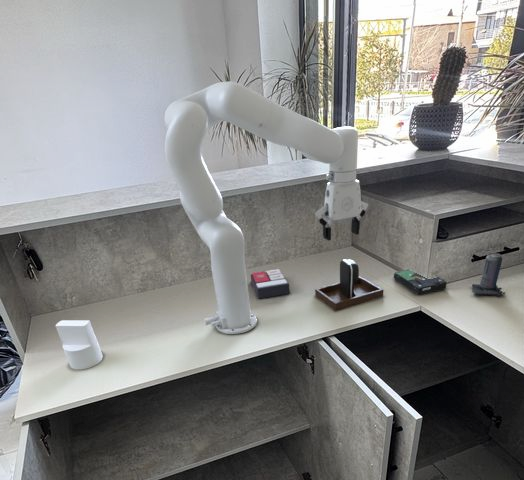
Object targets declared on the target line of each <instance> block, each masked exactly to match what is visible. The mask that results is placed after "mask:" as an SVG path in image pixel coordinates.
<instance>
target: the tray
mask: <svg viewBox="0 0 524 480" xmlns="http://www.w3.org/2000/svg"><path fill="white" fill-rule="evenodd" d="M354 293H355V294H356V297H352V298H349V299H348V298H347V297H346V296H344V295H343V294H342V293H341V292H340V281H339V282H336V283H335V282H334V283H332V284H328V285H325V286H321V287H318V288H315V289H314V296H315V298H317V299H318V300H319V301H321V302H323V303H324V304H325V305H327V307H329V308H330V309H332V310H333V311H334V312H337V311H340V310H344V309H348V308H351V307H354V306H355V307H356V306H358V305H362V304H364V303H369V302H371V301H375V300H377V299H380V298H383V297H384V288H381V287H380V286H379V285H376V284H375V283H373V282H371V281H369V280H367V279H366V278H364V277H363V276H359V279H358V280H355V283H354Z"/></svg>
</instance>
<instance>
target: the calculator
mask: <svg viewBox="0 0 524 480" xmlns="http://www.w3.org/2000/svg"><path fill="white" fill-rule="evenodd" d="M250 282H251V284H252V287H253V289H254V292H255V295H256V297H257V299H264V298H271V297H277V296H278V297H279V296H284V295H289V294H290V292H291V291H290V283H289V281H288V279H287V278H286V277H285V275H284V274H283V272H282V271H281V269H279V268H277V269H276V268H275V269H271V270H270V269H269V270H266V271H265V270H264V271H263V270H262V271H258V272H257V271H256V272H252V273H251V274H250Z"/></svg>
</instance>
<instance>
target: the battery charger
mask: <svg viewBox="0 0 524 480" xmlns="http://www.w3.org/2000/svg"><path fill="white" fill-rule="evenodd" d="M359 277H360V269H359V264H357V263H356V262H355V260H353V259H351V258H348V259H342V260H340V261H339V282H340V292H341V293H342V294H343V295H344V296H346V297H347V298H348V299H349V298H352V297H356V294H355V293H354V283H355V280H358V279H359Z"/></svg>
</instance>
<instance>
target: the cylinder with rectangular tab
mask: <svg viewBox="0 0 524 480" xmlns="http://www.w3.org/2000/svg"><path fill="white" fill-rule="evenodd" d="M55 328H56V331H57V334H58V336H59V339H60V342H61V344H62V349H63V352H64V354H65V357H66V359H67V362H68V364H69V367H70V368H71V369H73V370H85V369H89V368H92V367H94V366H96V365H97V364H99V363H100V362H101V361H102V360H103V358H104V357H103V356H104V355H103V353H102V349H101V347H100V344H99V342H98V338H97V336H96V334H95V332H94V329H93V326H92V323H91V321H90V320H89V319H87V320H83V319H82V320H78V319H77V320H73V319H71V320H67V319H66V320H65V319H62V320H60V321H58V322H57V323H56V324H55Z"/></svg>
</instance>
